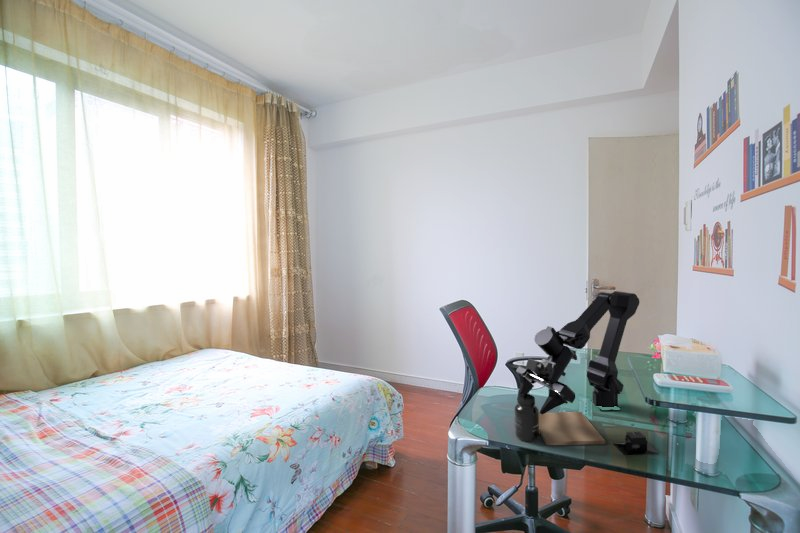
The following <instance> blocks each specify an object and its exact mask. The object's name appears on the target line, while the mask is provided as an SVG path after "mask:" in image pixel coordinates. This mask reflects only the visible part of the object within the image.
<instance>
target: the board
mask: <svg viewBox="0 0 800 533" xmlns="http://www.w3.org/2000/svg"><path fill="white" fill-rule="evenodd" d="M539 435H540V436H541V438H542V440H543V441H544V443H545V445H546V446H562V445H563V446H569V445H570V446H573V445H576V446H578V445H606V440H605V439H604V437H603V436H602V435H601V434H600V432H599V431H598V430H597V428H595V427H594V425H593V424H592V423H591V422H590V420H589V419H588V418H587V417H586V416H585V414H583V412H582V411H567V412H565V411H563V412H562V411H559V412H546V413H544V414H543V415H542V414H541V413H540V412H539Z"/></svg>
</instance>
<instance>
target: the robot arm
mask: <svg viewBox="0 0 800 533" xmlns="http://www.w3.org/2000/svg"><path fill="white" fill-rule="evenodd" d="M639 305H640V298H639V297H638V296H637V294H636V293H633V292H626V291H618V290H615V291H613V292H606V291H605V292H604V291H602V292H601V291H600V292H598V293H597V295H596V297H595V299H593V301H592V302H591V303H590V304H589V306H587V307H586V309H585V310H584V311H583V312H582V313H581V314H580V315H579V316H578V317H577V319H575V320H572V321H570V322H568V323H566V324H565V325H564V326H562V328H560V330H557V331H556V329H555V328H554V327H553V326H552V327H551V326H546V328H544V329H541V330H540V331H538V332H536V334H535V336H534V342H535V344H536V345H537V346H538V347H539V348H540V349H541V350H542V351H543V352H544V353H545V354H546V355H547V356H548V357H547V358H543V359H541V360H540V361H539V360H535V359H532V358H530V357H529V358H527V362H526V365H519V366H518V367H517V369H516V371H515V372H516V373H517V376H518V377H519V388H518V393H517V398H516V400H518V395H520V394H529V392H530V391H532V389H534V387H535V384H536V383H538V384H540V385H542V386H543V387H545V388H548V397H547V398H546V400H545V401H544V402H543V405H542V406H541V408H540V410H539V413H541V414H542V415H543V414H544V413H549V412H550V411H551V410H553V409H555V408H557V407H559V406H561V405H563V404H565V405H567V404H568V403H571V404H573V403H574V402H575V400H576V393H575V392H574V391H573V390H572V388H570V386H568V385H567V384H565V383H563V382H560V381H559V380H560V378H561V377H562V376H563V377H565V376H566V375H567V373H566V372H565V371H566V368H567V366H568V365H569V364H570V361H572V360H574V361H578V356H577V351H576V350H573V349H577V350H581V349H583V348H584V347H585V346H586V345H587V344H588V342H589V341H590V338H591V331H592V329H593V328H594V327H595V326H596V325H598V324H597V323H599V322H600V320H601V319H602V318H603V317H604V315H606V313H607V312H608V313H609V319H608V323H607V327H606V329H605V333H604V337H603V339H602V342H601V347H600V349H599V350H600V351H599V353H598V357H596V358H595V359H591V360H589V363H588V365H587V366H588V367H587V369H586V378H587V380H588V383H589V386H591V387H593V391H592V400H593V402H592V404H593V403H594V404H593V405H594V406H595V407H596V406H602V407H614V406H618V407H619V405H618V404H619V403H618V401H619V399H618V398H619V395H620V394H621V393H622V392H623V391H624V390H623V389H624V384H623V383H622V382H621V380H620V379H618V375H619V371H618V367H617V364H616V360H617V358H618V353H619V350H620V346H621V343H622V339H623V336H624V332H625V330H626V329H625V328H626V326H627V322H628V320H629V319H631V317H633V316H634V315H635V314H636V312H637V310H638V307H639ZM571 348H573V349H571Z"/></svg>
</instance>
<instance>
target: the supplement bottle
mask: <svg viewBox="0 0 800 533" xmlns="http://www.w3.org/2000/svg"><path fill="white" fill-rule="evenodd" d="M517 397H518V400H517V399H516V400H517V403H516V404H515V406H514V408H513V409H514V434H515V436H516V437H517V438H518V439H519V440H521V441H523V440H525V441H524V442H535V441H537V440H538V439H539V438H540V433H539V413H540V410H539V408H538V407H539V406H537V405H536V397H535V396H534V395H533V394H529V393H528V394H520V395H518V394H517Z"/></svg>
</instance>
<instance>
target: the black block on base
mask: <svg viewBox="0 0 800 533" xmlns="http://www.w3.org/2000/svg"><path fill="white" fill-rule="evenodd" d="M624 440H625V441H624V442H614V443H613V442H612V445H613V446H614V447H615V448H616V449H617V450H618V451H619V452H620V453H621V454H622V455H623V456H645V455H648V456H649V455H660V453H659V452H658V451H657V450H656V449H655V448H654V447H653V446H652V445H651V444H650V443H649V442H648V439H647V437H646V436H645V435H644V434H643V433H642V432H641V431H626V434H625V436H624Z"/></svg>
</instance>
